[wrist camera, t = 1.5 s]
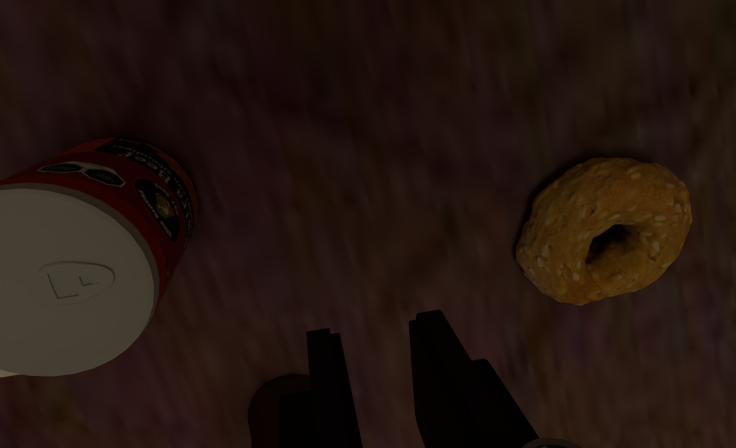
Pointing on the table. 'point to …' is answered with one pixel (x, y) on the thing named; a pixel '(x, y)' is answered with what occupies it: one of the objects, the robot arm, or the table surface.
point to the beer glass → (271, 409)
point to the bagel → (604, 229)
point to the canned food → (88, 253)
